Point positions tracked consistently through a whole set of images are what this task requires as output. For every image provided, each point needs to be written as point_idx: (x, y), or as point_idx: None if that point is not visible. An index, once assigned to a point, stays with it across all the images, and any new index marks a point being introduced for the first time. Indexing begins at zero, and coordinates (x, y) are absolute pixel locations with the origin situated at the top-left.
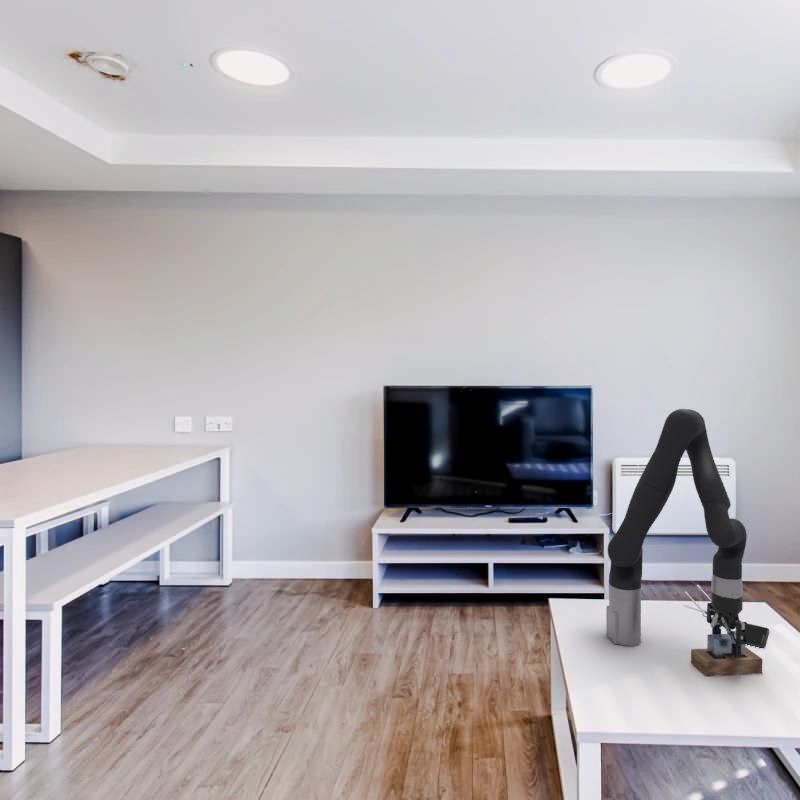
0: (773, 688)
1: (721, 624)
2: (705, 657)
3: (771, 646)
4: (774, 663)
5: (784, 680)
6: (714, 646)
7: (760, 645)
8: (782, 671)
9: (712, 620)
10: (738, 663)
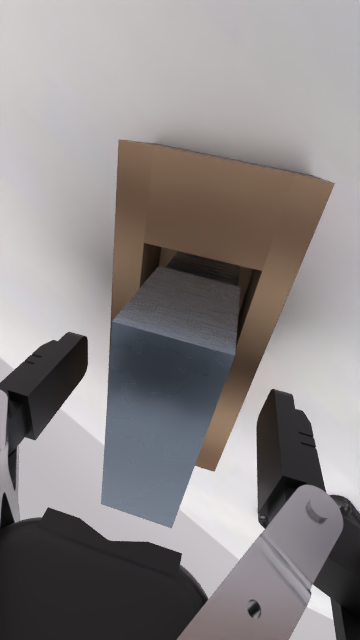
0: (38, 343)
1: (127, 566)
2: (179, 194)
3: (257, 529)
4: None
5: (81, 407)
6: (140, 294)
7: (267, 518)
8: None
9: (291, 596)
10: None
